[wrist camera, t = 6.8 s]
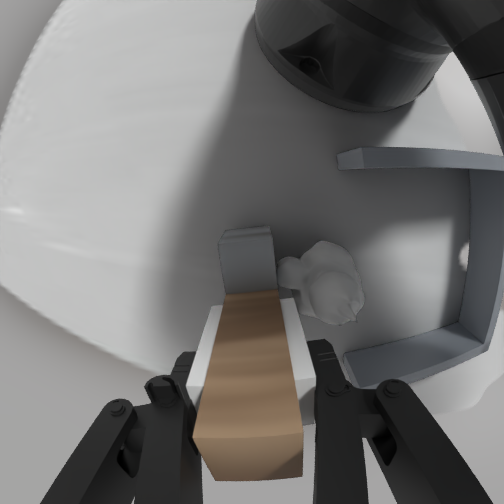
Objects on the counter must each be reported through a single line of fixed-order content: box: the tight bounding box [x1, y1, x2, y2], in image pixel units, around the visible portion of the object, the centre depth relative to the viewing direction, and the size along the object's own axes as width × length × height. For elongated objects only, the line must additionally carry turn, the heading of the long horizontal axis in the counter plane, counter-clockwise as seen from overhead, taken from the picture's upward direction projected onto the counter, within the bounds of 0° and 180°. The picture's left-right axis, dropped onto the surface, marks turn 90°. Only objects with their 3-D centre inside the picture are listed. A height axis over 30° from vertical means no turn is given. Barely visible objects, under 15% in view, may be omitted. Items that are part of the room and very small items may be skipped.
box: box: [337, 147, 504, 389], centre depth 18 cm, size 18×15×5 cm
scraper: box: [192, 226, 303, 481], centre depth 13 cm, size 9×3×14 cm, turn 7°
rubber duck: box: [276, 241, 365, 326], centre depth 17 cm, size 5×7×8 cm
